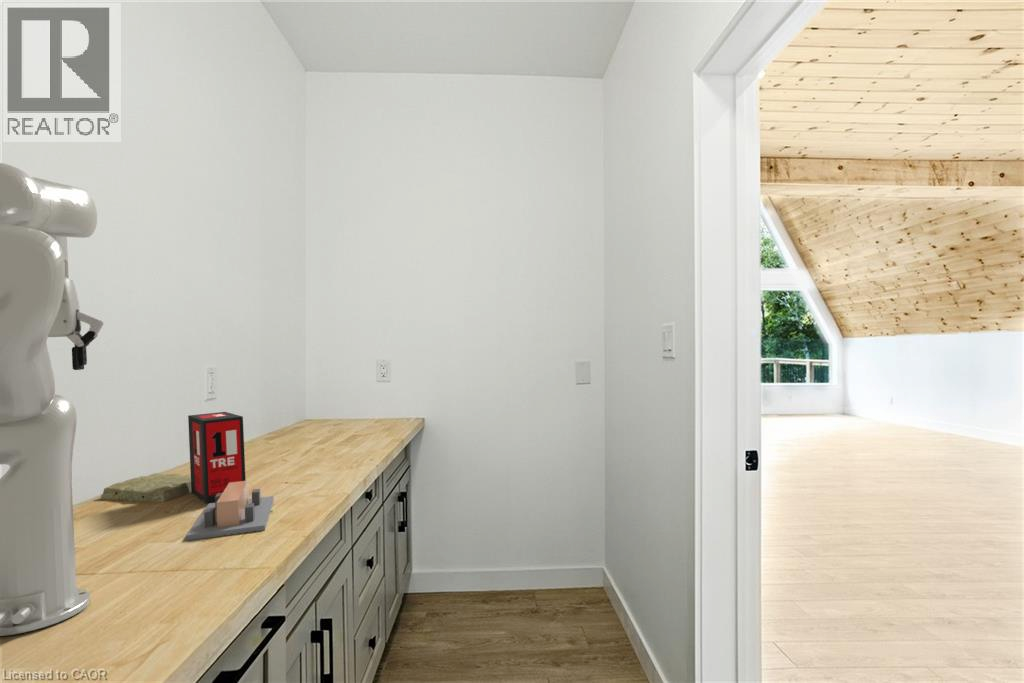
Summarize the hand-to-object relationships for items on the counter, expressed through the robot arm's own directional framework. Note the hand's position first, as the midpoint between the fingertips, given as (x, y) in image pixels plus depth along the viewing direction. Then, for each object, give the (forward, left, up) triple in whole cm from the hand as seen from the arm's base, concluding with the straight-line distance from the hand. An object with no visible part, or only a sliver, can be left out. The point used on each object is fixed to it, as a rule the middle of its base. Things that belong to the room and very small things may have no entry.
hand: (45, 371), depth 100 cm
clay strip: (+19, -26, -33) cm, 46 cm away
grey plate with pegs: (+19, -26, -34) cm, 47 cm away
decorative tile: (+55, -3, -35) cm, 65 cm away
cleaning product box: (+44, -19, -35) cm, 59 cm away
